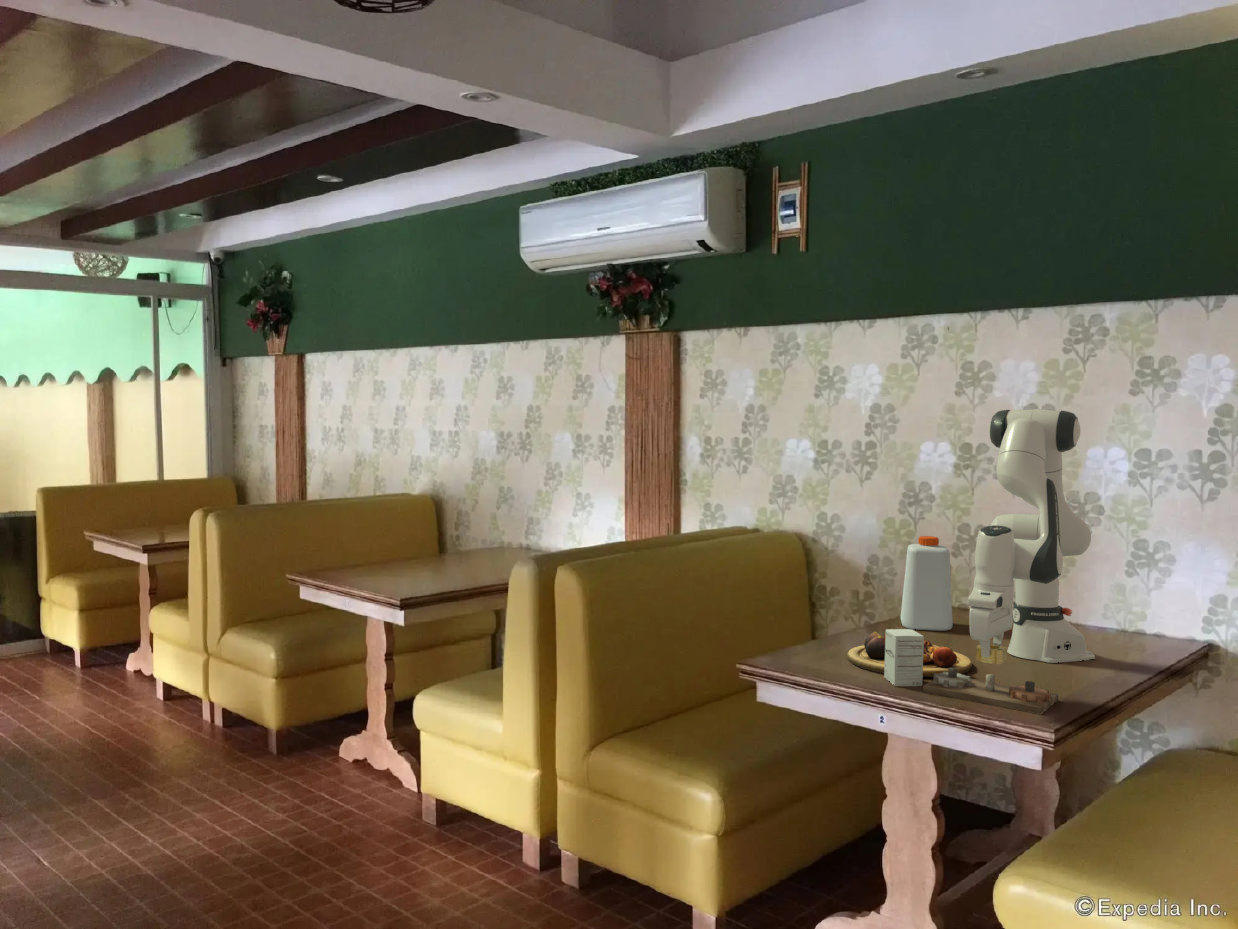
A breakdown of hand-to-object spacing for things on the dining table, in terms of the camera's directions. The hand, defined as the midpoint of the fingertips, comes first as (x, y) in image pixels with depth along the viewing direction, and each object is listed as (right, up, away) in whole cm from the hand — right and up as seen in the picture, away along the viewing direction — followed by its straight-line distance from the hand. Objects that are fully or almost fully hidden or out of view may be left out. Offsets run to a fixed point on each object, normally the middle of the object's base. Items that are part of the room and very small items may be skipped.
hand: (991, 653), depth 234 cm
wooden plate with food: (-10, -9, +31) cm, 34 cm away
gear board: (0, -10, +1) cm, 10 cm away
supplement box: (-17, -10, +12) cm, 23 cm away
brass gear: (0, -2, 0) cm, 2 cm away
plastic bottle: (+8, -6, +77) cm, 77 cm away
